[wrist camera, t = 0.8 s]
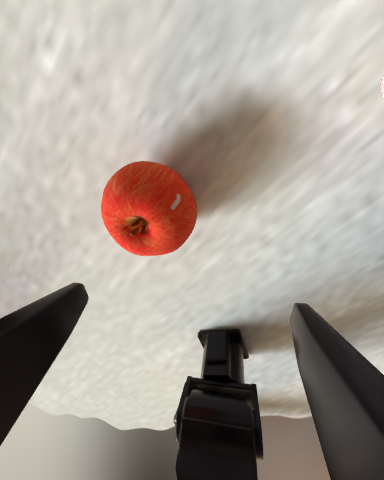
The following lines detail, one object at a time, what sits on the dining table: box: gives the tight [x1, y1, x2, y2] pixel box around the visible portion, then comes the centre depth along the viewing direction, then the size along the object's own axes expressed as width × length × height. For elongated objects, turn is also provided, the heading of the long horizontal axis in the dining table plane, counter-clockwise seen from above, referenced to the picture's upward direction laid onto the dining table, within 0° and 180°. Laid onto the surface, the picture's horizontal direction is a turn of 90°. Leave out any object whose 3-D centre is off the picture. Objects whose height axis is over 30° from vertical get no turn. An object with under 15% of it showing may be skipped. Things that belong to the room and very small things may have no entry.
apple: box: [101, 161, 197, 256], centre depth 17 cm, size 8×8×8 cm
